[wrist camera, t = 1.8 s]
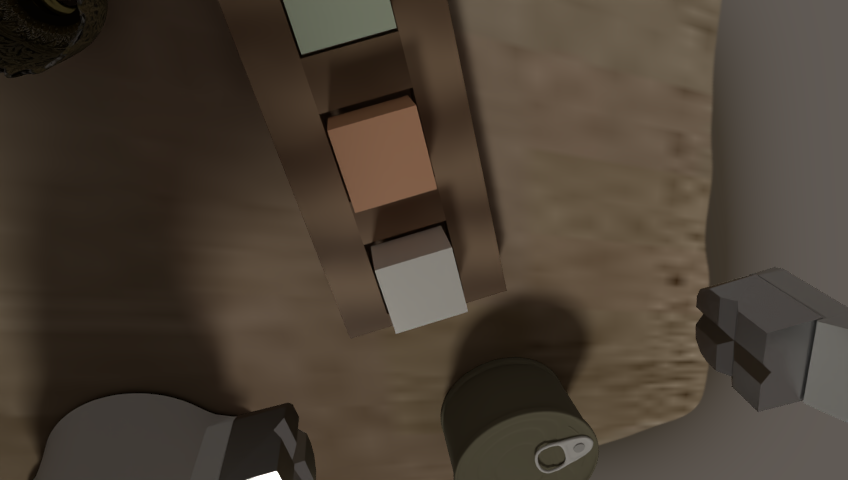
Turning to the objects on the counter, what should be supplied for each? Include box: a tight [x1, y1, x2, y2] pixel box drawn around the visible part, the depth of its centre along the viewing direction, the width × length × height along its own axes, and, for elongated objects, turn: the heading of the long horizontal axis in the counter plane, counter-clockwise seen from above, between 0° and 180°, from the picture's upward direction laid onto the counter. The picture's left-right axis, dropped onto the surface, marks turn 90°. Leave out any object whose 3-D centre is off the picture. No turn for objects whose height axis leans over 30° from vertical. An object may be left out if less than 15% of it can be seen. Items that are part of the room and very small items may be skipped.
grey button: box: [371, 226, 468, 334], centre depth 34 cm, size 5×5×4 cm
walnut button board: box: [218, 0, 507, 339], centre depth 33 cm, size 26×12×3 cm, turn 14°
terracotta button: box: [327, 95, 437, 213], centre depth 30 cm, size 5×5×4 cm
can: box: [441, 357, 599, 480], centre depth 43 cm, size 12×12×7 cm
